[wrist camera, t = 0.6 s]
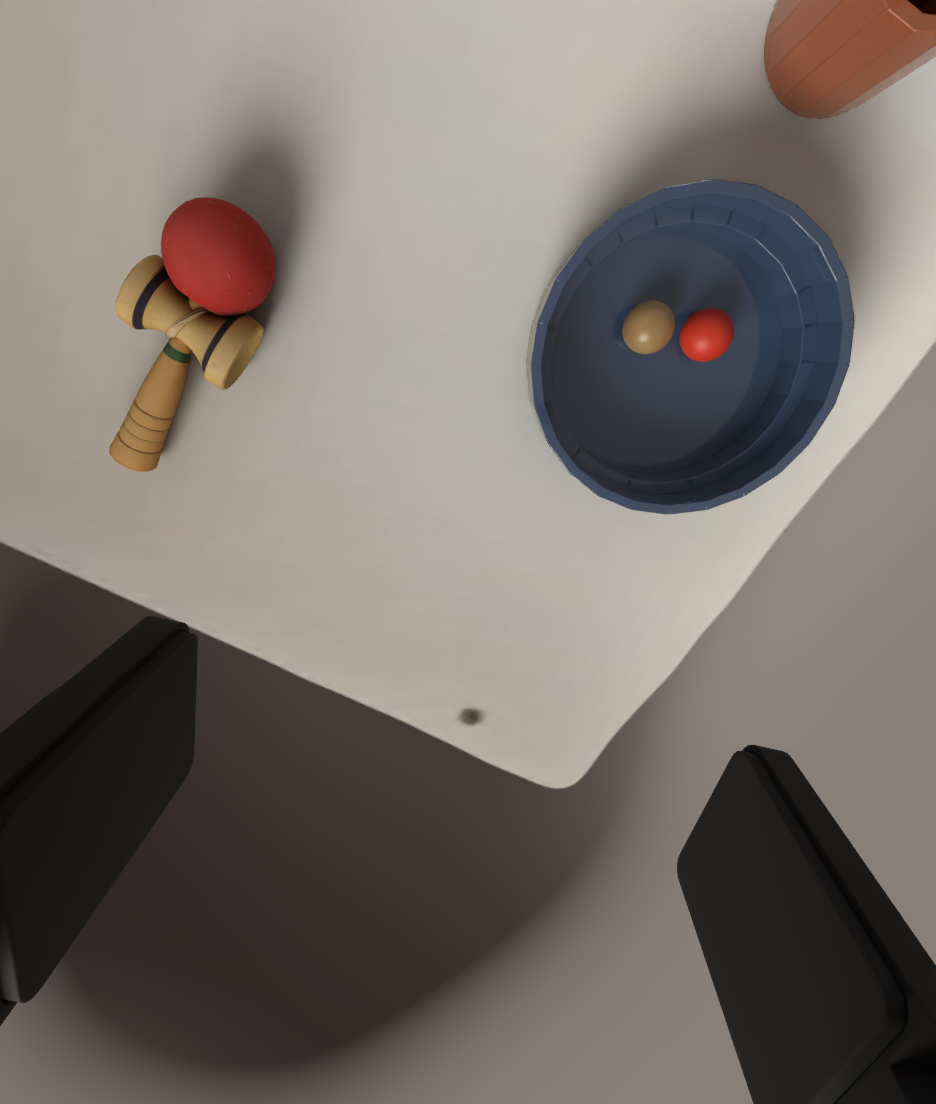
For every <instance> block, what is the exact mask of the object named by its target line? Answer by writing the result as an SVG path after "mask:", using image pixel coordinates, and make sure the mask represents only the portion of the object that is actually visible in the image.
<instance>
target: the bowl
mask: <svg viewBox="0 0 936 1104" xmlns="http://www.w3.org/2000/svg"><path fill="white" fill-rule="evenodd" d="M647 300H656V301H660V302H662V303H664V304H666V305H667V306H668V307H669V308H670V309H671V311H672V312H673V315H674V318H675V330H674V334H673V336H672V338H671V340H670V341H669V343H668V344H667V345H666V346H665V347H664V348H662V349H661V350H660V351H658V352H655V353H652V354H639V353H636V352H634V351H633V350H631V349H630V348H629V347H628V346H627V344H626V343H625V341H624V338H623V333H622V328H623V323H624V320H625V317H626V316H627V314H628V313H629V311H630V310H631V309H632V308H633V307H634V306H636V305H637V304H639V303H641V302H644V301H647ZM705 308H717V309H720V310H722V311H724V312H725V313H727V314H728V315H729V317H730V318H731V320H732V322H733V325H734V337H733V340H732V343H731V345H730V346H729V348H728V349H727V350H726V352H725V353H724V354H722V355H721V356H720V357H718V358H716V359H714V360H711V361H707V362H698V361H695V360H692V359H690V358H689V357H687V356H686V355H685V354H684V352H683V351H682V349H681V346H680V340H679V338H680V331H681V328H682V326H683V324H684V323H685V321H686V320H687V319H688V318H689V317H690V316H691V315H692V314H694V313H695V312H697V311H699V310H702V309H705ZM853 329H854V312H853V306H852V300H851V293H850V287H849V281H848V276H847V273H846V271H845V269H844V267H843V265H842V263H841V261H840V259H839V257H838V255H837V252H836V250H835V248H834V246H833V244H832V242H831V240H830V238H829V237H828V235H827V234H826V233H825V232H824V231H823V230H822V229H821V228H820V227H819V226H818V225H817V224H816V223H815V222H814V221H813V220H812V219H811V218H810V217H809V216H808V215H807V214H806V213H805V212H804V211H803V210H802V209H801V208H800V207H799V206H798V205H797V204H795V203H793V202H791V201H789V200H787V199H785V198H783V197H781V196H779V195H777V194H775V193H773V192H771V191H769V190H767V189H765V188H763V187H761V186H758V185H754V184H746V183H739V182H731V181H724V180H716V179H713V180H712V179H710V180H704V181H699V182H693V183H687V184H681V185H675V186H670V187H666V188H663V189H661V190H659V191H657V192H655V193H652V194H650V195H648V196H646V197H644V198H642V199H640V200H638V201H636V202H634V203H632V204H630V205H627V206H625V207H623V208H622V209H620V210H619V211H618V212H617V213H615V214H614V215H613V216H612V217H611V218H609V219H608V220H607V221H606V222H605V223H603V224H602V225H601V226H600V227H599V228H598V229H596V230H595V231H594V232H593V233H592V234H590V235H589V236H588V237H587V238H586V239H585V240H584V241H583V242H582V243H581V244H580V245H579V246H578V247H577V248H576V250H575V251H574V252H573V253H572V254H571V255H570V256H569V258H568V259H567V261H566V262H565V263H564V265H563V266H562V267H561V269H560V270H559V272H558V273H557V274H556V276H555V277H554V278H553V280H552V281H551V283H550V284H549V285H548V288H547V289H546V291H545V294H544V296H543V298H542V301H541V303H540V306H539V308H538V311H537V313H536V315H535V318H534V320H533V323H532V326H531V333H530V339H529V346H528V352H527V359H526V362H527V363H526V368H527V379H528V389H529V398H530V402H531V404H532V407H533V410H534V412H535V415H536V418H537V420H538V423H539V426H540V428H541V431H542V433H543V435H544V437H545V439H546V441H547V442H548V444H549V446H550V447H551V449H552V450H553V451H554V453H555V454H556V455H557V457H558V458H559V460H560V461H561V462H562V464H563V465H564V467H565V468H566V469H567V471H568V472H569V473H570V474H571V475H572V476H573V477H575V478H576V479H577V480H578V481H580V482H581V483H582V484H583V485H585V486H586V487H587V488H589V489H590V490H591V491H592V492H594V493H595V494H596V495H598V496H599V497H602V498H604V499H607V500H609V501H611V502H614V503H616V504H619V505H621V506H624V507H626V508H628V509H632V510H637V511H645V512H652V513H660V514H676V513H685V512H693V511H702V510H708V509H710V508H713V507H716V506H719V505H721V504H724V503H727V502H730V501H732V500H735V499H738V498H741V497H743V496H745V495H747V494H748V493H750V492H752V491H753V490H755V489H756V488H758V487H759V486H761V485H763V484H764V483H766V482H767V481H769V480H770V479H772V478H774V477H775V476H777V475H778V474H779V473H781V472H782V471H783V470H784V469H785V468H786V467H787V466H788V465H789V464H790V463H791V462H792V461H793V460H794V459H795V458H796V457H797V456H798V455H799V454H800V453H801V452H802V451H803V450H804V449H805V448H806V447H807V446H808V445H809V444H810V442H811V441H812V440H813V438H814V436H815V435H816V433H817V432H818V430H819V429H820V427H821V426H822V424H823V423H824V421H825V419H826V418H827V416H828V415H829V413H830V412H831V410H832V409H833V407H834V406H833V405H835V403H836V400H837V397H838V395H839V392H840V389H841V386H842V384H843V381H844V378H845V375H846V373H847V370H848V367H849V363H850V357H851V347H852V338H853Z"/></svg>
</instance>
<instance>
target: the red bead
mask: <svg viewBox="0 0 936 1104" xmlns="http://www.w3.org/2000/svg"><path fill="white" fill-rule="evenodd" d="M733 337H734V325H733V322H732V320H731V318H730V317H729V315H728V314H727V313H725V312H724V311H722V310H720V309H717V308H705V309H702V310H699V311H697V312H695V313H694V314H692V315H691V316H690V317H689V318H688V319H687V320H686V321H685V323H684V324H683V326H682V328H681V331H680V338H679V340H680V346H681V349H682V351H683V352H684V354H685V355H686V356H687V357H689V358H690V359H692V360H695V361H698V362H707V361H711V360H714V359H716V358H718V357H720V356H721V355H722V354H724V353H725V352H726V350H727V349H728V348H729V346H730V345H731V343H732V340H733Z"/></svg>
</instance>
